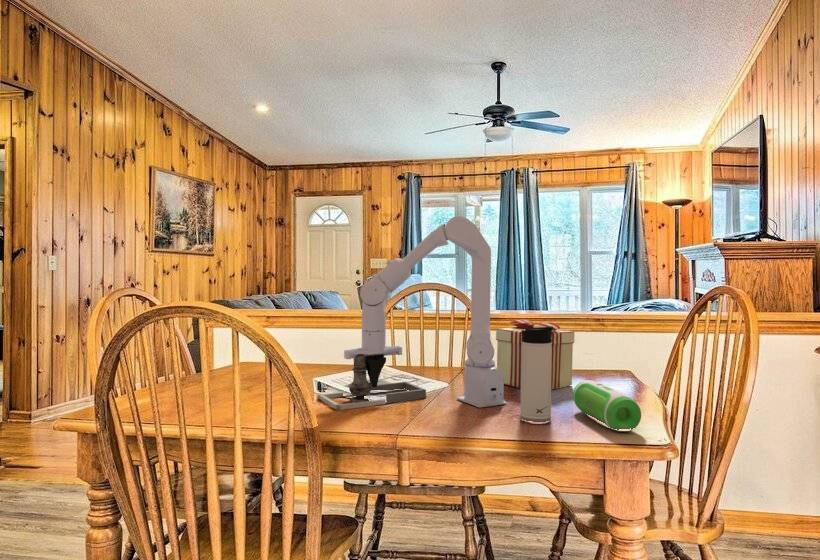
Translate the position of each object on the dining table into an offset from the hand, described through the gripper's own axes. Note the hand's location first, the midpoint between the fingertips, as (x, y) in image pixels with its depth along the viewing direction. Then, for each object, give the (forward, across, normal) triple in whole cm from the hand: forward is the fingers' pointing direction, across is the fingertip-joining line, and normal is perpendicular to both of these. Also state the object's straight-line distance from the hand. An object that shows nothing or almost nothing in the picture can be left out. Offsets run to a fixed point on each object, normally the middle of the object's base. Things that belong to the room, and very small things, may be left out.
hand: (373, 386), depth 139 cm
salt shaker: (+3, +3, 0) cm, 5 cm away
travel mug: (+3, -22, +33) cm, 40 cm away
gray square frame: (+3, +6, 0) cm, 6 cm away
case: (+3, -6, 0) cm, 7 cm away
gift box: (+3, -46, +5) cm, 47 cm away
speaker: (+3, -34, +40) cm, 53 cm away
